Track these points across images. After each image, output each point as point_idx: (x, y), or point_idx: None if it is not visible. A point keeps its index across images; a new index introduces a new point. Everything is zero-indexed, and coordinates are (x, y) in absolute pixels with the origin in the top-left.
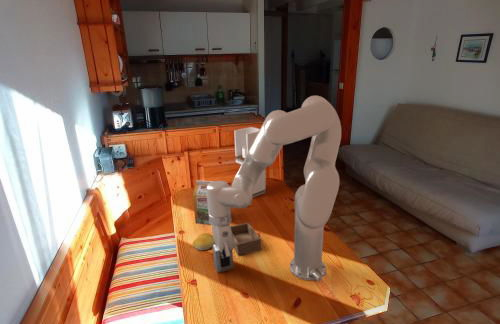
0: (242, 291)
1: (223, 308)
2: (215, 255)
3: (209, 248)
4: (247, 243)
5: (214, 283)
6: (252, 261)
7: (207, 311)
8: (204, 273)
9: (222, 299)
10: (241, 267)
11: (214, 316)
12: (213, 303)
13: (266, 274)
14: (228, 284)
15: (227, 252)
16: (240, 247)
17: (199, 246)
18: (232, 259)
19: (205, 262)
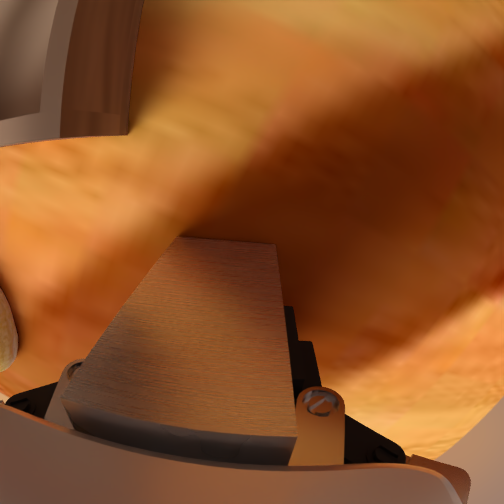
0: (490, 283)
1: (485, 384)
2: None
3: (7, 301)
4: (84, 11)
5: (341, 395)
6: (271, 50)
7: (450, 429)
8: None
9: (455, 381)
10: (300, 176)
11: (481, 412)
12: (441, 412)
13: (462, 62)
14: (403, 335)
15: None
16: (87, 103)
17: (4, 364)
18: (280, 292)
19: None
